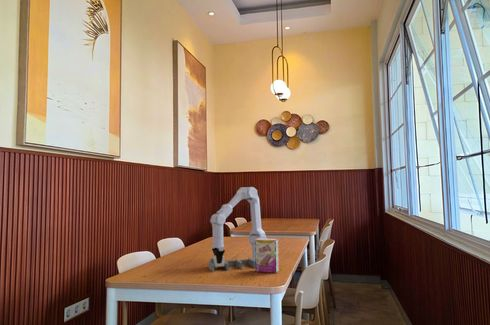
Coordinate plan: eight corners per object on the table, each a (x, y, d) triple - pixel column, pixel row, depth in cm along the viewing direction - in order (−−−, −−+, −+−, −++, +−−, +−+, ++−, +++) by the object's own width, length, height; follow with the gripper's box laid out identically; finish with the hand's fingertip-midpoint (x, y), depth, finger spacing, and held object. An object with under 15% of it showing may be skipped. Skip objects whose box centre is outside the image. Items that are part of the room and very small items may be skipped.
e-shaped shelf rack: (249, 263, 201) (248, 254, 202) (255, 268, 189) (255, 258, 190) (208, 267, 195) (208, 257, 195) (212, 271, 183) (212, 262, 183)
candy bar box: (255, 272, 180) (254, 239, 181) (258, 270, 185) (257, 238, 186) (276, 273, 177) (275, 240, 178) (279, 271, 181) (278, 238, 182)
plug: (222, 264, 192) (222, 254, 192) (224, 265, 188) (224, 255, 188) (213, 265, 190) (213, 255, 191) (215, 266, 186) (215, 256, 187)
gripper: (208, 235, 196) (208, 260, 195) (213, 238, 182) (213, 265, 181) (220, 234, 198) (221, 259, 197) (226, 238, 184) (227, 264, 183)
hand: (218, 262), depth 189 cm, fingers closed on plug, 4 cm apart
